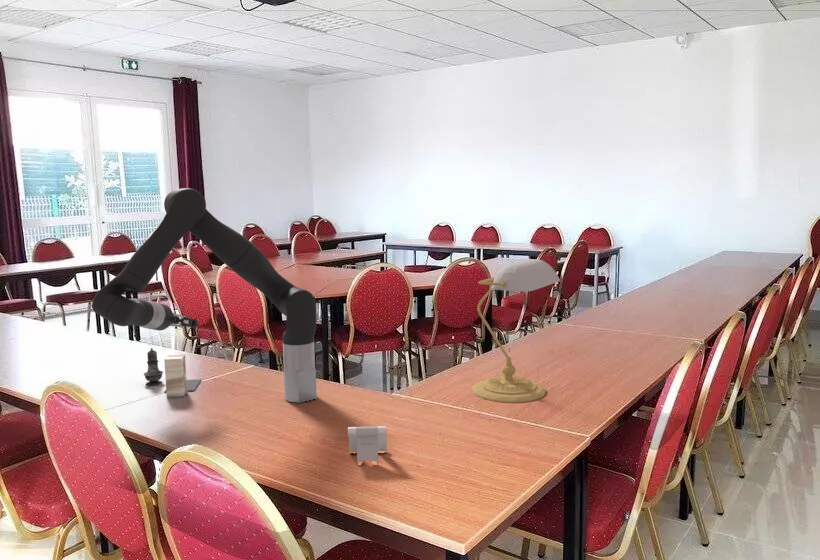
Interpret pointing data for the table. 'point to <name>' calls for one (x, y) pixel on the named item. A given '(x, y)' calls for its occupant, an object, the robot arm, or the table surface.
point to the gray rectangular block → (191, 385)
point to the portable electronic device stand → (367, 442)
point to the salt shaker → (153, 370)
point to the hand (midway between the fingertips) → (183, 322)
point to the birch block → (175, 376)
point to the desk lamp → (516, 280)
